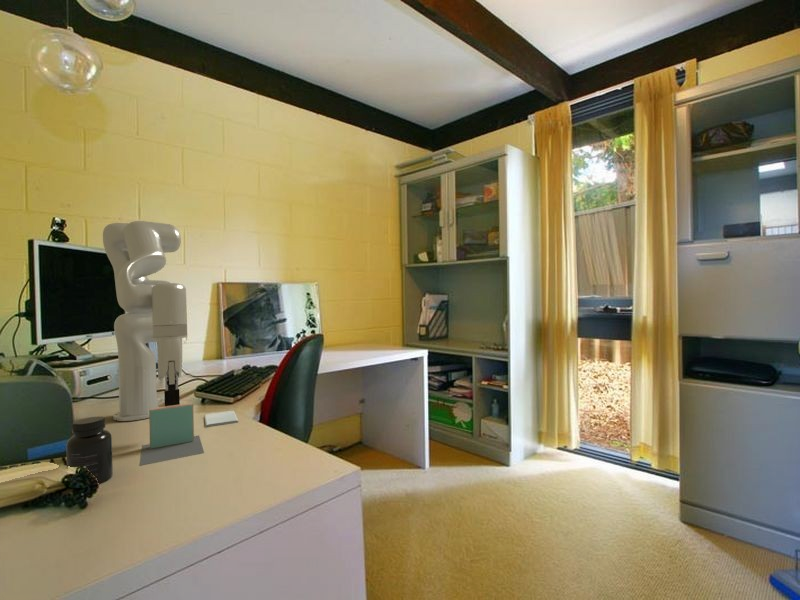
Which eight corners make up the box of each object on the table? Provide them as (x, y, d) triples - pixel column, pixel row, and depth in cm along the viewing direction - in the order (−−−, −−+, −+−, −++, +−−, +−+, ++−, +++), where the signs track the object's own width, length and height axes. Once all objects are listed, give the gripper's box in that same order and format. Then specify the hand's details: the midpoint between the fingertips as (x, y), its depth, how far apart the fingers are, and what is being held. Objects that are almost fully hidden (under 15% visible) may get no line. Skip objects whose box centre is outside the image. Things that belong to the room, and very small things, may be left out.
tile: (150, 446, 92) (149, 408, 92) (193, 439, 96) (192, 402, 96) (149, 449, 90) (149, 410, 90) (194, 441, 95) (193, 404, 95)
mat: (142, 446, 93) (142, 445, 93) (199, 436, 99) (199, 435, 99) (139, 467, 81) (139, 465, 81) (204, 454, 87) (204, 452, 87)
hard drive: (238, 420, 109) (233, 409, 120) (205, 424, 105) (204, 413, 116) (238, 426, 109) (233, 415, 120) (205, 431, 105) (204, 419, 116)
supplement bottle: (74, 479, 76) (73, 417, 76) (117, 472, 79) (116, 412, 79) (60, 494, 70) (59, 427, 70) (107, 486, 72) (105, 422, 73)
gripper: (153, 332, 103) (155, 402, 102) (151, 334, 90) (154, 414, 89) (185, 330, 106) (187, 398, 106) (189, 332, 94) (191, 409, 93)
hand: (172, 405), depth 98 cm, fingers closed
